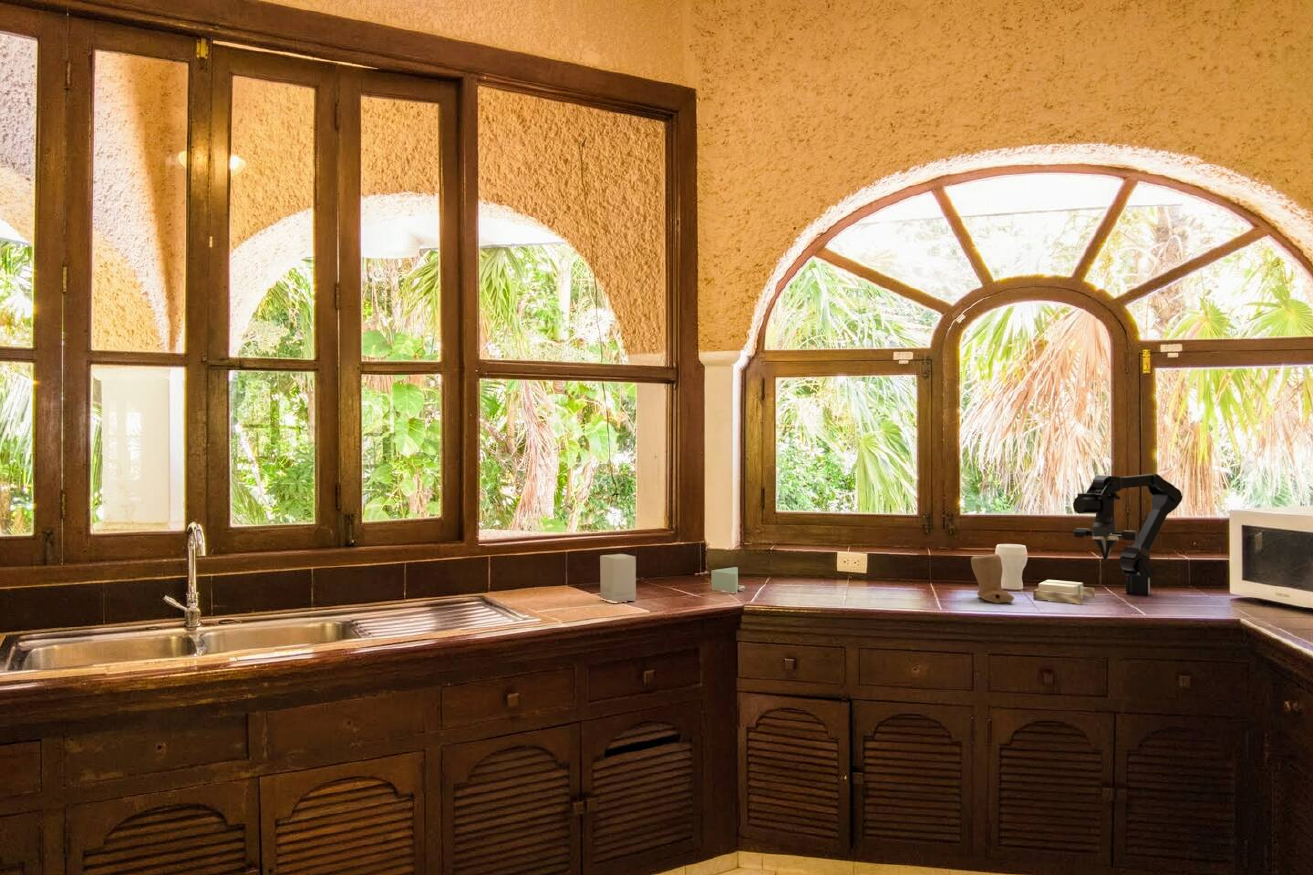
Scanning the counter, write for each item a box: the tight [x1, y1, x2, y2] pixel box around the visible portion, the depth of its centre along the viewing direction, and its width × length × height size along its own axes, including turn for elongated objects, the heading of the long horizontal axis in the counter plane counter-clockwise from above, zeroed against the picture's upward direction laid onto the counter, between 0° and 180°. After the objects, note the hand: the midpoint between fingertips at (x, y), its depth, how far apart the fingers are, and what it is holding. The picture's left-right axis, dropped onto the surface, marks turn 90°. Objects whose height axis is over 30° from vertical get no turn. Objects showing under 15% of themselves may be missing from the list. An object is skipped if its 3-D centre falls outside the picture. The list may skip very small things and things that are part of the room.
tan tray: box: [1032, 586, 1096, 605], centre depth 293 cm, size 15×17×3 cm
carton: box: [1038, 579, 1084, 595], centre depth 294 cm, size 11×11×5 cm
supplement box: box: [599, 553, 637, 601], centre depth 293 cm, size 9×9×15 cm
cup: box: [994, 543, 1028, 591], centre depth 315 cm, size 11×11×15 cm
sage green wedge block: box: [710, 566, 746, 594], centre depth 313 cm, size 12×12×8 cm
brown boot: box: [970, 553, 1015, 604], centre depth 291 cm, size 15×12×15 cm
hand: (1105, 559), depth 298 cm, fingers closed
